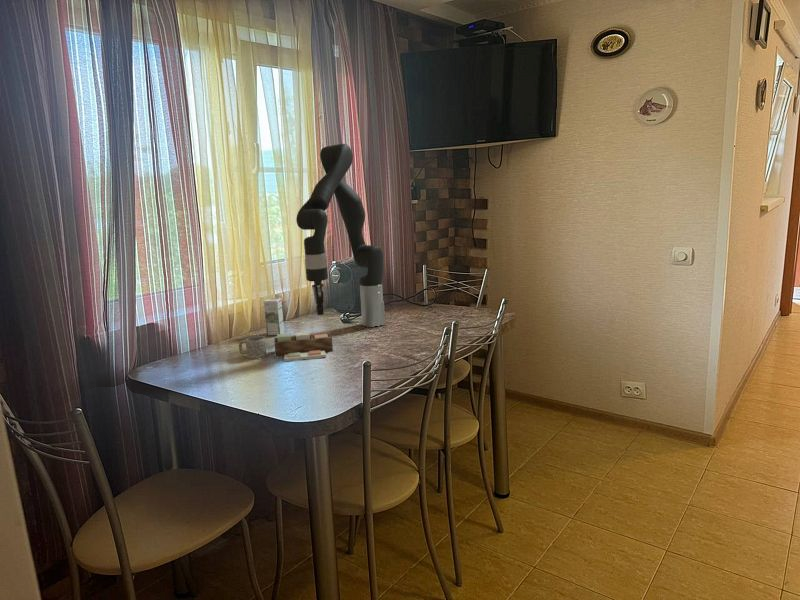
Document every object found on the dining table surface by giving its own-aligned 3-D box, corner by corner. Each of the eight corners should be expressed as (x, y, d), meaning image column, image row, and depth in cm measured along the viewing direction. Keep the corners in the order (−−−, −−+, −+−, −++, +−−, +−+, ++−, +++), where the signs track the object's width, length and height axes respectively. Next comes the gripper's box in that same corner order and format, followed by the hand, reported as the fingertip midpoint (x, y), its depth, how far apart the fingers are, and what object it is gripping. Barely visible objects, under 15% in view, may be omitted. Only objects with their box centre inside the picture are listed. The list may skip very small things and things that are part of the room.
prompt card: (324, 353, 202) (324, 348, 202) (326, 357, 197) (325, 352, 197) (284, 357, 199) (284, 353, 199) (284, 361, 195) (284, 357, 194)
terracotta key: (327, 340, 210) (327, 333, 209) (328, 343, 205) (328, 336, 204) (314, 341, 209) (314, 334, 208) (315, 345, 204) (314, 338, 203)
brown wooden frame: (330, 345, 212) (329, 332, 211) (332, 351, 204) (331, 337, 203) (275, 350, 208) (274, 337, 207) (275, 357, 200) (274, 343, 199)
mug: (269, 354, 204) (268, 336, 203) (260, 359, 198) (258, 341, 197) (245, 353, 207) (243, 335, 206) (235, 358, 201) (233, 340, 199)
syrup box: (284, 332, 234) (281, 297, 232) (280, 335, 229) (277, 300, 226) (271, 332, 235) (267, 297, 232) (266, 336, 229) (263, 300, 226)
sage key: (291, 339, 207) (290, 333, 206) (291, 343, 202) (291, 336, 202) (277, 341, 206) (277, 334, 205) (277, 344, 201) (277, 337, 201)
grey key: (309, 338, 208) (309, 331, 207) (310, 341, 203) (309, 334, 203) (296, 339, 207) (295, 332, 206) (296, 342, 202) (296, 335, 202)
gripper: (328, 268, 195) (332, 317, 199) (325, 263, 208) (329, 309, 212) (306, 270, 194) (311, 319, 198) (304, 264, 206) (308, 311, 210)
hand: (320, 314), depth 205 cm, fingers closed
